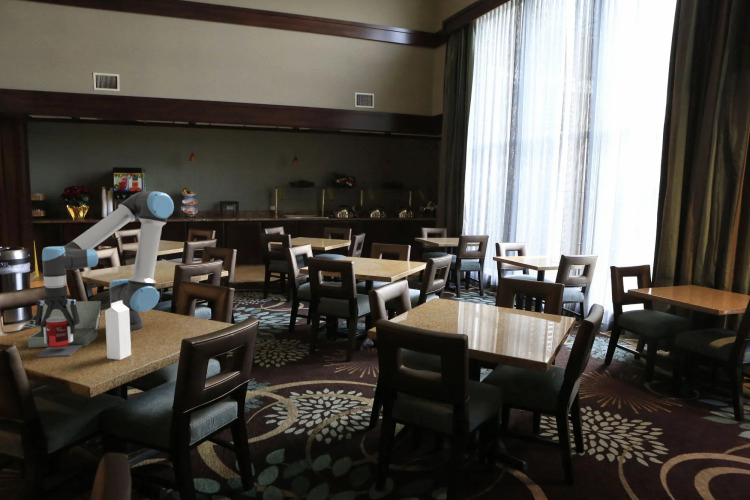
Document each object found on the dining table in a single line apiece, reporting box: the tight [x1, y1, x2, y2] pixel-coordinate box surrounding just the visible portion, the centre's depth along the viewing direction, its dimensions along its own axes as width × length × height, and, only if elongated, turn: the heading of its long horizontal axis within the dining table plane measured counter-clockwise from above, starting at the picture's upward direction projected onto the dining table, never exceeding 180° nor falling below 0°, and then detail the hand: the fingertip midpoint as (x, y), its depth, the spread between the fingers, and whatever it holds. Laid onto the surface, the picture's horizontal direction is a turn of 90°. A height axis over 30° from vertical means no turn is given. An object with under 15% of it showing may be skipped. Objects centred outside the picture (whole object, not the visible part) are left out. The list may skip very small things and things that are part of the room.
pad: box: [35, 345, 83, 358], centre depth 201 cm, size 12×12×1 cm
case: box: [27, 300, 102, 349], centre depth 215 cm, size 24×17×15 cm
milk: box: [104, 300, 132, 361], centre depth 195 cm, size 6×6×22 cm
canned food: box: [46, 316, 70, 348], centre depth 200 cm, size 8×8×11 cm
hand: (59, 341), depth 200 cm, fingers closed on canned food, 8 cm apart
